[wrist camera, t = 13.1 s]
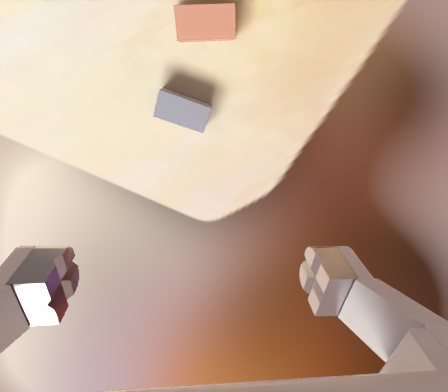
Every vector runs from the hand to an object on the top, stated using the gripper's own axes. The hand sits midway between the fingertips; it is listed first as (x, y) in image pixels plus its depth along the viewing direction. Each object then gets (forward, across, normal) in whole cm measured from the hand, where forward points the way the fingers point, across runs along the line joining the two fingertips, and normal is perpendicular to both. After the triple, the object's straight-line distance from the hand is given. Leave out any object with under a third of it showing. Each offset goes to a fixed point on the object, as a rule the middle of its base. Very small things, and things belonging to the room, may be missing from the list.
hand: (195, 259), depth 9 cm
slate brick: (+27, +1, +1) cm, 27 cm away
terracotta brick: (+28, -1, -8) cm, 29 cm away
